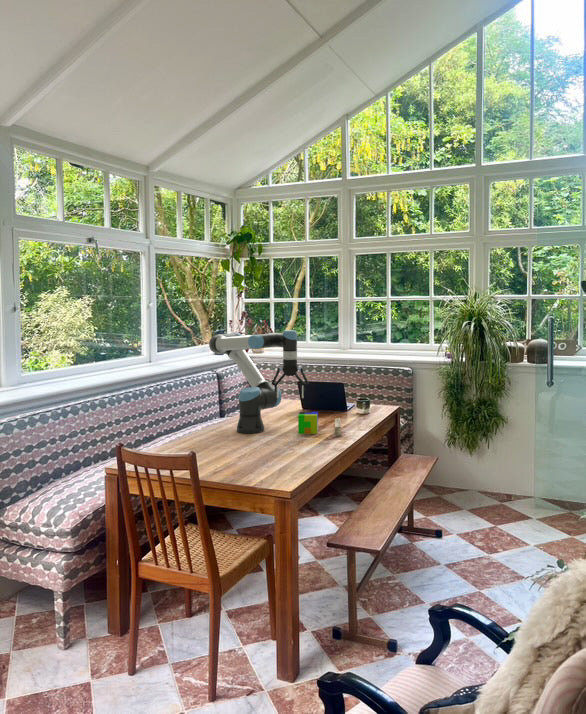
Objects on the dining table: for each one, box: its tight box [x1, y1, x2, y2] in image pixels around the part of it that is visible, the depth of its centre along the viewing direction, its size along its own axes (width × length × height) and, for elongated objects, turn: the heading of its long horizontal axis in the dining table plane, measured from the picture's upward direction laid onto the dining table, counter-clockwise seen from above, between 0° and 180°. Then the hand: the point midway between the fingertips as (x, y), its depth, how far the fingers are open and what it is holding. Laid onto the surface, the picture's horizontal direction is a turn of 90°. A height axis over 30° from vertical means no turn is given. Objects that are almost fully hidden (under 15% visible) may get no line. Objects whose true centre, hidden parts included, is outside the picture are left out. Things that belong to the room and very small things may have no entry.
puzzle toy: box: [297, 411, 319, 435], centre depth 338 cm, size 10×10×10 cm
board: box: [334, 417, 342, 437], centre depth 337 cm, size 3×22×5 cm, turn 176°
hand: (290, 397), depth 338 cm, fingers open, 13 cm apart
